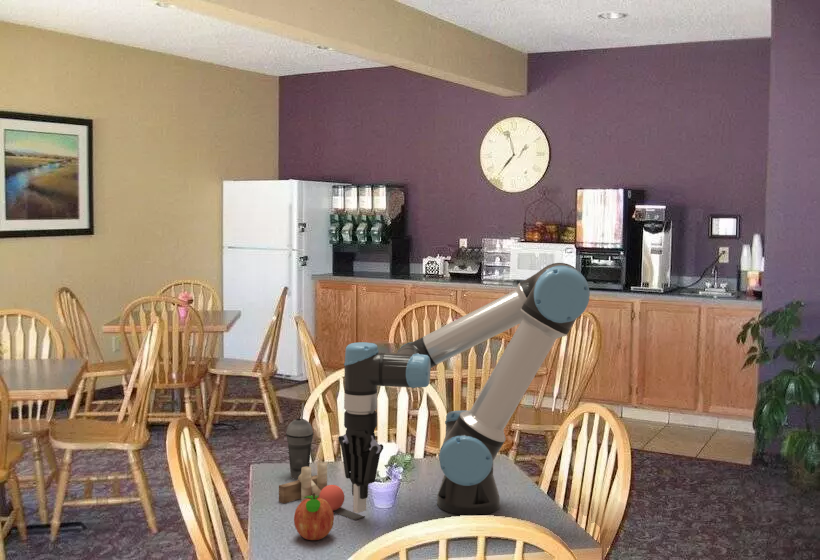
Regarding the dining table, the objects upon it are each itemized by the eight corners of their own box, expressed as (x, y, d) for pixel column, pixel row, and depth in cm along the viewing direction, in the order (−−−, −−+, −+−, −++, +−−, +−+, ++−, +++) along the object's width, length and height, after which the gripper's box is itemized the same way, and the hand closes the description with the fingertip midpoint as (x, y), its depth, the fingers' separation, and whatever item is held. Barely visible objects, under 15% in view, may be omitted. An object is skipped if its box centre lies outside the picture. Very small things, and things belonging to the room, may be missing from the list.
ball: (334, 483, 218) (343, 506, 217) (312, 492, 216) (321, 516, 214) (342, 479, 213) (351, 503, 212) (319, 488, 210) (329, 512, 209)
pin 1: (313, 503, 218) (313, 467, 218) (308, 506, 216) (308, 469, 215) (304, 502, 219) (304, 465, 219) (299, 505, 217) (299, 468, 216)
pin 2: (328, 498, 222) (328, 463, 221) (323, 501, 220) (324, 465, 219) (320, 497, 223) (320, 461, 222) (315, 500, 221) (315, 464, 220)
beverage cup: (298, 470, 244) (299, 398, 242) (319, 476, 240) (319, 402, 238) (279, 477, 238) (280, 403, 237) (300, 482, 234) (300, 407, 232)
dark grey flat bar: (364, 517, 210) (364, 516, 210) (355, 520, 207) (355, 519, 207) (335, 506, 216) (335, 505, 216) (326, 509, 214) (326, 508, 214)
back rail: (316, 490, 228) (316, 475, 228) (321, 492, 227) (321, 476, 226) (278, 501, 220) (278, 485, 219) (283, 503, 218) (283, 487, 218)
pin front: (329, 497, 218) (307, 472, 223) (323, 497, 216) (301, 472, 221) (323, 504, 218) (302, 479, 223) (317, 505, 216) (296, 479, 221)
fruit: (334, 530, 201) (335, 486, 200) (332, 546, 192) (332, 500, 191) (296, 530, 201) (296, 486, 200) (291, 546, 192) (291, 500, 191)
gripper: (392, 412, 204) (391, 514, 206) (353, 403, 213) (352, 500, 216) (368, 418, 199) (367, 522, 201) (329, 408, 208) (328, 507, 210)
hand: (359, 510), depth 208 cm, fingers closed
